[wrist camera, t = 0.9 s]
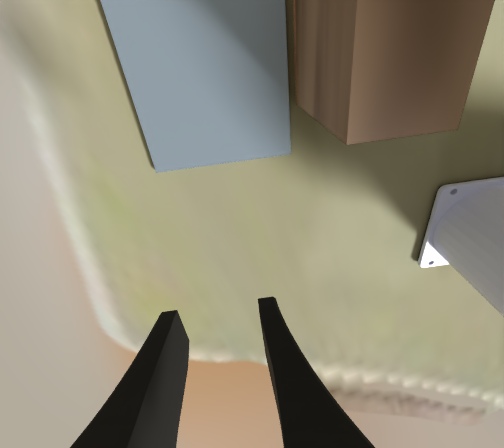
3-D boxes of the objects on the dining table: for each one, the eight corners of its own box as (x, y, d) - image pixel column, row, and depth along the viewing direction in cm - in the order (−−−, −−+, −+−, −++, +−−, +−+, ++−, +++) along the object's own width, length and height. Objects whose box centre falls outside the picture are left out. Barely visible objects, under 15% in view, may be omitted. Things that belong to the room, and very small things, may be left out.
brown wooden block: (372, -37, 14) (531, -128, 7) (360, 94, 17) (457, 129, 10) (292, -26, 14) (364, -105, 7) (296, 103, 17) (346, 145, 10)
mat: (279, -116, 12) (280, -120, 12) (290, 152, 19) (290, 153, 18) (74, -88, 12) (70, -91, 12) (157, 170, 18) (156, 172, 18)
